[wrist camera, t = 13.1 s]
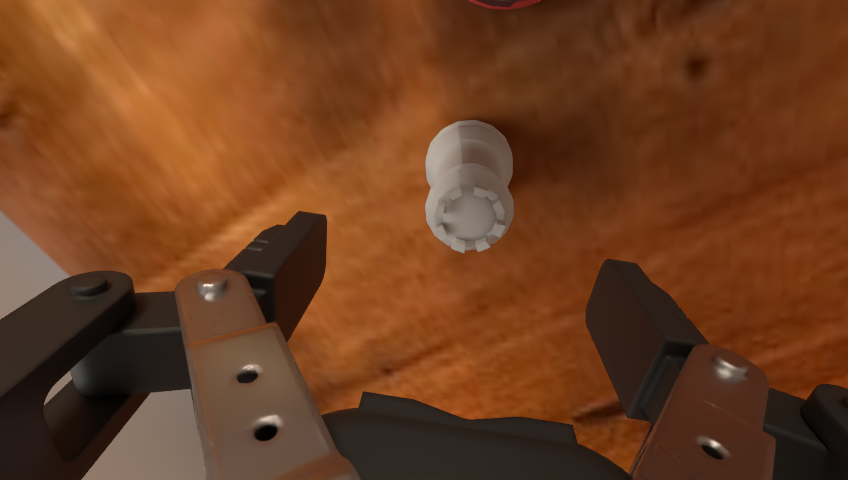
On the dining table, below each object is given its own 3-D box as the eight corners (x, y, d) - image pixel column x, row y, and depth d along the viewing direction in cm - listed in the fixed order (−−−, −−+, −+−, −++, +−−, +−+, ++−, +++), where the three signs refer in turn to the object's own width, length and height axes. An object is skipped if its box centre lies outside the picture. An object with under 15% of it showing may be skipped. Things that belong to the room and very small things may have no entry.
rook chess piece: (415, 131, 21) (388, 177, 14) (502, 106, 20) (521, 141, 13) (439, 210, 23) (426, 287, 16) (519, 190, 22) (545, 262, 15)
